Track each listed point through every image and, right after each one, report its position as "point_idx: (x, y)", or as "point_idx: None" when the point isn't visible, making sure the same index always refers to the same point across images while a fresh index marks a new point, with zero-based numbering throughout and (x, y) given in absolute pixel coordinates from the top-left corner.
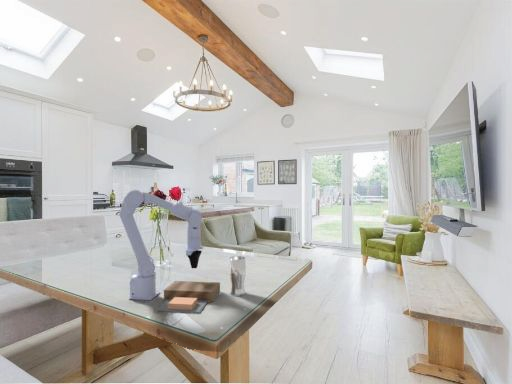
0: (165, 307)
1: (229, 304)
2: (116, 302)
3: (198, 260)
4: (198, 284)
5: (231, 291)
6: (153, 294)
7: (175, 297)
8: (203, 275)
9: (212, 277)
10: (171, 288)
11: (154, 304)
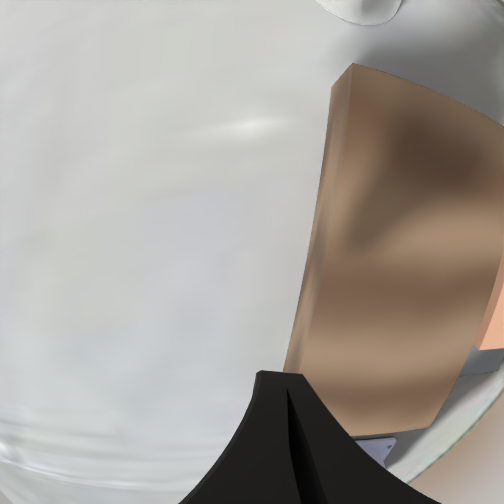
0: (493, 351)
1: (487, 62)
2: None
3: (245, 434)
4: (396, 256)
5: (382, 14)
6: (367, 451)
7: (483, 344)
8: (11, 270)
9: (31, 201)
10: (421, 406)
11: None
